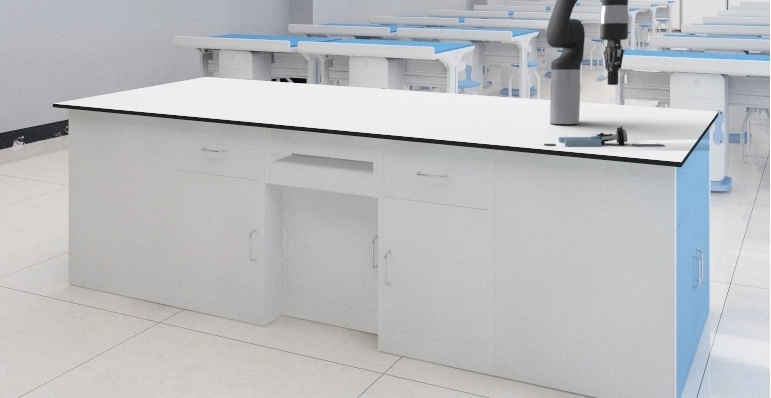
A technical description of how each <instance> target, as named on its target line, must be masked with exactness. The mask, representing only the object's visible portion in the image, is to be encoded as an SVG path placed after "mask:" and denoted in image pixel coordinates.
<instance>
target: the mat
mask: <svg viewBox="0 0 771 398" xmlns="http://www.w3.org/2000/svg"><path fill="white" fill-rule="evenodd" d="M631 145H632V146H633V147H665V144H662V143H658V144H639V143H631Z"/></svg>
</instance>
